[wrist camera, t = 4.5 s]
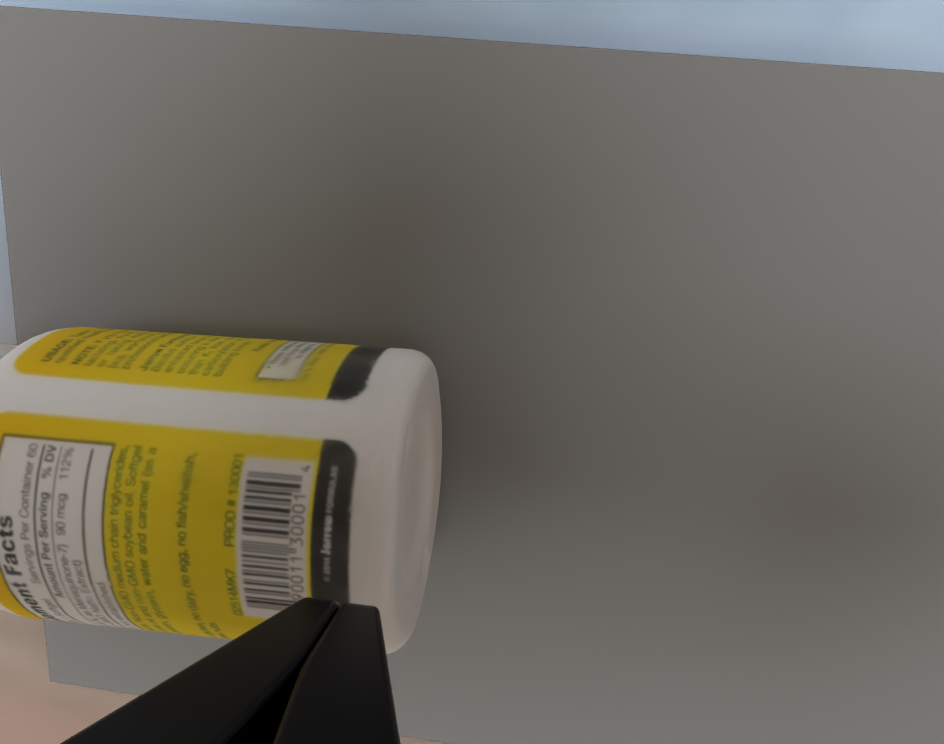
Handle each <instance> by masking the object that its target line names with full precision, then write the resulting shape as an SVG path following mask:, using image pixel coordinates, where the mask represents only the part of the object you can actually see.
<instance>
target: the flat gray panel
mask: <svg viewBox="0 0 944 744" xmlns="http://www.w3.org/2000/svg"><path fill="white" fill-rule="evenodd" d="M0 171H1V181H2V191H3V202H4V212H5V222H6V232H7V243H8V253H9V263H10V274H11V284H12V294H13V305H14V315H15V325H16V336H17V345H20V344H22V343H23V342H25V341H27V340H29V339H31V338H32V337H35V336H38V335H40V334H43V333H46V332H49V331H53V330H57V329H64V328H74V327H94V328H109V329H121V330H139V331H150V332H165V333H181V334H196V335H211V336H225V337H240V338H257V339H274V340H287V341H301V342H318V343H334V344H350V345H359V346H371V347H387V348H401V349H412V350H417V351H420V352H422V353H424V354H425V355H427V356H428V357H429V358H430V359H431V361H432V362H433V364H434V366H435V368H436V372H437V376H438V382H439V392H440V402H441V415H442V465H441V484H440V495H439V505H438V513H437V521H436V528H435V535H434V541H433V547H432V553H431V559H430V565H429V571H428V577H427V582H426V587H425V592H424V597H423V602H422V606H421V610H420V613H419V616H418V619H417V622H416V625H415V628H414V630H413V632H412V634H411V636H410V637H409V639H408V640H407V642H406V643H405V644H404V645H403V646H402V647H401V648H400V649H398V650H397V651H395V652H393V653H389V654H386V655H387V661H388V667H389V674H390V680H391V686H392V693H393V699H394V705H395V712H396V718H397V725H398V731H399V736H404V737H410V738H417V739H423V740H430V741H436V742H442V743H449V744H944V73H939V72H925V71H911V70H897V69H883V68H869V67H855V66H840V65H826V64H812V63H798V62H784V61H770V60H756V59H742V58H728V57H714V56H700V55H686V54H672V53H658V52H644V51H630V50H615V49H601V48H587V47H573V46H559V45H545V44H531V43H517V42H503V41H489V40H475V39H461V38H447V37H433V36H419V35H404V34H390V33H376V32H362V31H348V30H334V29H320V28H306V27H292V26H278V25H264V24H250V23H236V22H222V21H208V20H194V19H179V18H165V17H151V16H137V15H123V14H109V13H95V12H81V11H67V10H53V9H39V8H25V7H11V6H0ZM44 624H45V634H46V645H47V655H48V665H49V676H50V681H51V682H58V683H64V684H70V685H77V686H83V687H90V688H96V689H102V690H109V691H115V692H122V693H128V694H135V695H142V694H144V693H145V692H147V691H149V690H150V689H152V688H154V687H155V686H157V685H159V684H160V683H162V682H164V681H165V680H167V679H169V678H170V677H172V676H174V675H175V674H177V673H179V672H180V671H182V670H184V669H185V668H187V667H189V666H190V665H192V664H194V663H195V662H197V661H199V660H200V659H202V658H204V657H205V656H207V655H209V654H210V653H212V652H214V651H215V650H217V649H219V648H220V647H222V646H223V645H225V644H227V643H228V642H230V641H232V640H230V639H221V638H212V637H203V636H193V635H183V634H175V633H165V632H154V631H145V630H137V629H128V628H119V627H110V626H99V625H91V624H81V623H73V622H60V621H54V620H44Z"/></svg>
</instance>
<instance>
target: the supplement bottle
mask: <svg viewBox="0 0 944 744" xmlns="http://www.w3.org/2000/svg"><path fill="white" fill-rule="evenodd" d="M441 465H442V415H441V402H440V392H439V382H438V376H437V372H436V368H435V366H434V364H433V362H432V361H431V359H430V358H429V357H428V356H427V355H425V354H424V353H422V352H420V351H417V350H412V349H401V348H387V347H371V346H359V345H350V344H334V343H318V342H301V341H287V340H274V339H257V338H240V337H225V336H211V335H196V334H181V333H165V332H150V331H139V330H121V329H109V328H94V327H74V328H64V329H57V330H53V331H49V332H46V333H43V334H40V335H38V336H35V337H32V338H31V339H29V340H27V341H25V342H23V343H22V344H20V345H11V344H0V610H2V611H5V612H8V613H11V614H15V615H18V616H23V617H28V618H34V619H42V620H54V621H60V622H73V623H81V624H91V625H99V626H110V627H119V628H128V629H137V630H145V631H154V632H165V633H175V634H183V635H193V636H203V637H212V638H221V639H230V640H233V639H235V638H237V637H238V636H240V635H242V634H243V633H245V632H247V631H248V630H250V629H252V628H253V627H255V626H257V625H258V624H260V623H262V622H263V621H265V620H267V619H268V618H270V617H272V616H273V615H275V614H277V613H278V612H280V611H282V610H283V609H285V608H287V607H288V606H290V605H292V604H293V603H295V602H297V601H298V600H300V599H302V598H305V597H310V598H318V599H325V600H332V601H337V602H338V603H339V604H340V606H341V605H342V604H344V603H355V604H362V605H370V606H375V607H377V608H378V609H379V611H380V617H381V623H382V629H383V636H384V642H385V648H386V654H389V653H393V652H395V651H397V650H398V649H400V648H401V647H402V646H403V645H404V644H405V643H406V642H407V640H408V639H409V637H410V636H411V634H412V632H413V630H414V628H415V625H416V622H417V619H418V616H419V613H420V610H421V606H422V602H423V597H424V592H425V587H426V582H427V577H428V571H429V565H430V559H431V553H432V547H433V541H434V535H435V528H436V521H437V513H438V505H439V495H440V484H441Z"/></svg>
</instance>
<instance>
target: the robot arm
mask: <svg viewBox="0 0 944 744" xmlns="http://www.w3.org/2000/svg"><path fill="white" fill-rule="evenodd" d="M60 744H400V737H399V731H398V725H397V718H396V712H395V705H394V699H393V693H392V686H391V680H390V674H389V667H388V661H387V655H386V648H385V642H384V636H383V629H382V623H381V617H380V611H379V609H378V608H377V607H375V606H370V605H362V604H355V603H344V604H342V605H341V606H340V604H339V603H338V602H337V601H332V600H325V599H318V598H310V597H305V598H302V599H300V600H298V601H297V602H295V603H293V604H292V605H290V606H288V607H287V608H285V609H283V610H282V611H280V612H278V613H277V614H275V615H273V616H272V617H270V618H268V619H267V620H265V621H263V622H262V623H260V624H258V625H257V626H255V627H253V628H252V629H250V630H248V631H247V632H245V633H243V634H242V635H240V636H238V637H237V638H235V639H233V640H232V641H230V642H228V643H227V644H225V645H223V646H222V647H220V648H219V649H217V650H215V651H214V652H212V653H210V654H209V655H207V656H205V657H204V658H202V659H200V660H199V661H197V662H195V663H194V664H192V665H190V666H189V667H187V668H185V669H184V670H182V671H180V672H179V673H177V674H175V675H174V676H172V677H170V678H169V679H167V680H165V681H164V682H162V683H160V684H159V685H157V686H155V687H154V688H152V689H150V690H149V691H147V692H145V693H144V694H142V695H140V696H139V697H137V698H135V699H134V700H132V701H130V702H129V703H127V704H125V705H124V706H122V707H120V708H119V709H117V710H115V711H114V712H112V713H110V714H109V715H107V716H105V717H104V718H102V719H100V720H99V721H97V722H95V723H94V724H92V725H90V726H89V727H87V728H85V729H84V730H82V731H80V732H79V733H77V734H75V735H74V736H72V737H70V738H69V739H67V740H65V741H64V742H62V743H60Z"/></svg>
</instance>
